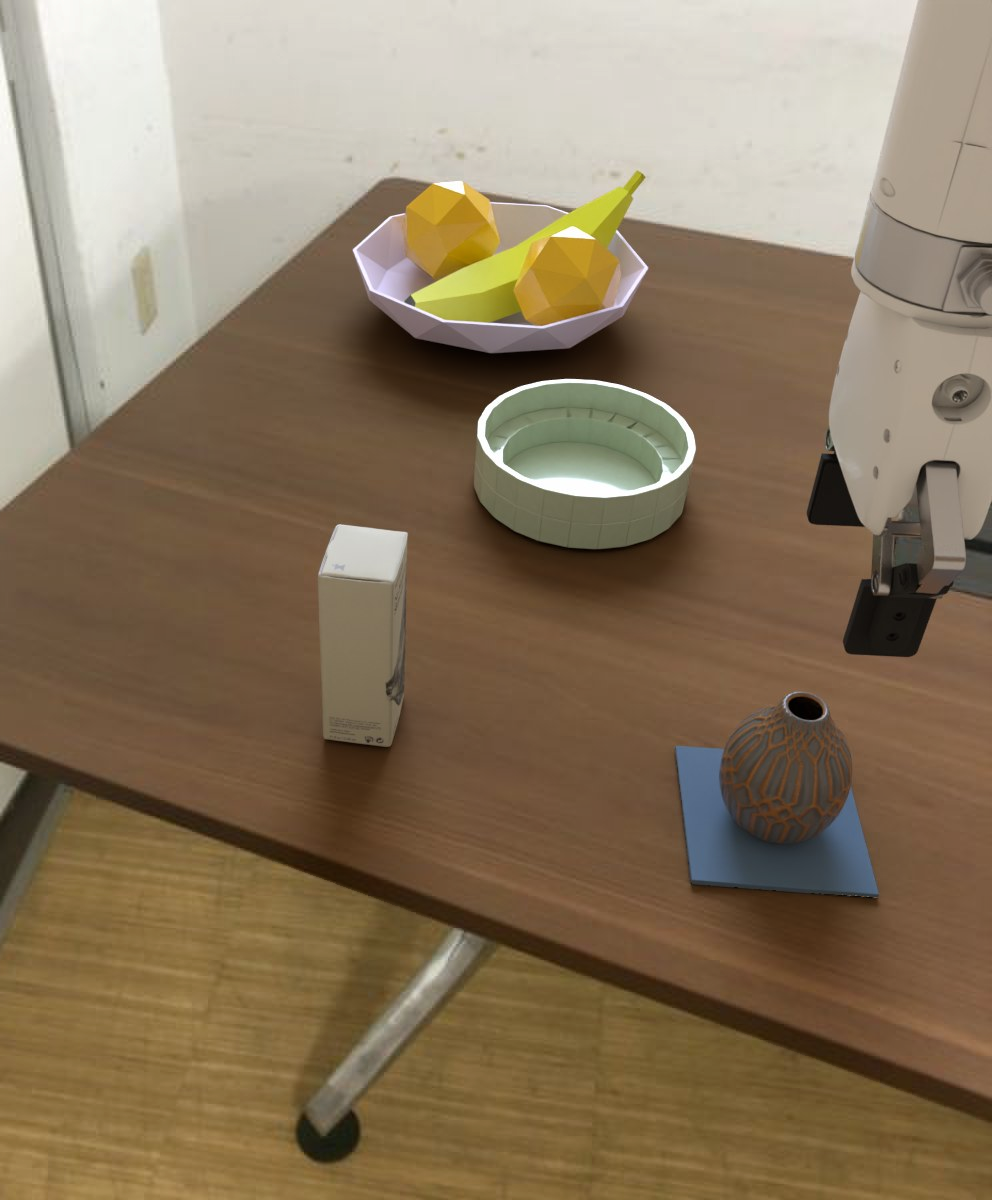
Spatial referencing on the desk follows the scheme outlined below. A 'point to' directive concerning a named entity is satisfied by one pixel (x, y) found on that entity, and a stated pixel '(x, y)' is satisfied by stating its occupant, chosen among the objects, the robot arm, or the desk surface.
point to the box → (363, 634)
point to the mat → (765, 842)
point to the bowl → (583, 463)
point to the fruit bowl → (502, 269)
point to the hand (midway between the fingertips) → (856, 583)
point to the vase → (786, 770)
